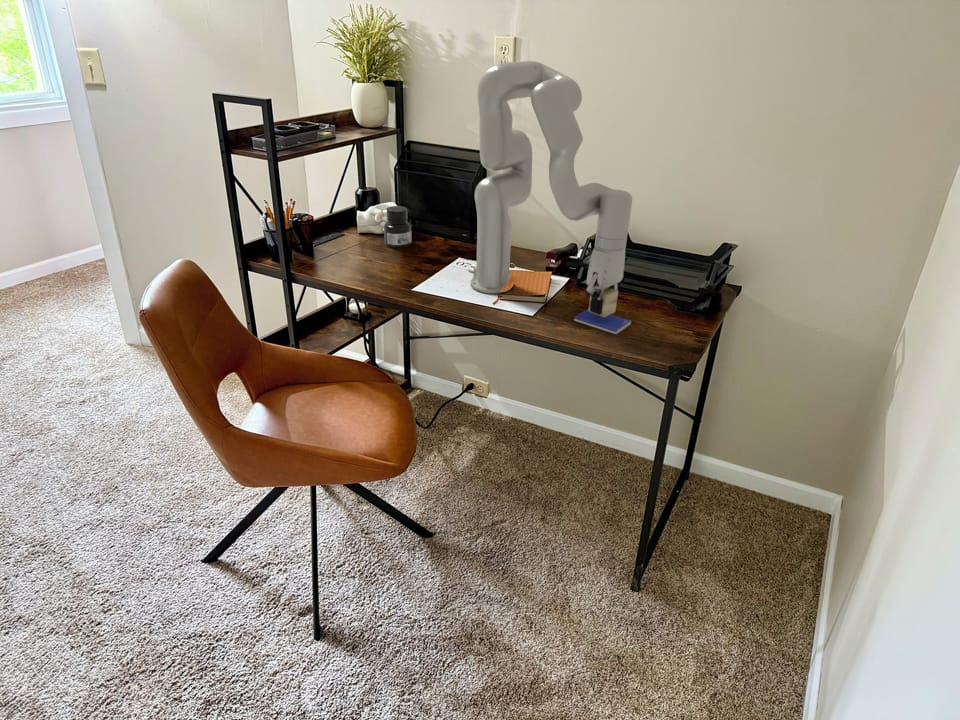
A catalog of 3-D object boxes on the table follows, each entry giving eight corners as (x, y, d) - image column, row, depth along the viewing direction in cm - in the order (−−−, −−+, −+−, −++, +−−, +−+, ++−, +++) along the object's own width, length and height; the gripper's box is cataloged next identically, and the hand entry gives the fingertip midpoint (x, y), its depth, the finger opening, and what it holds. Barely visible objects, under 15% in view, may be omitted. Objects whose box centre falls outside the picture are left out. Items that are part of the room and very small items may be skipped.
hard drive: (631, 320, 174) (589, 307, 180) (616, 330, 168) (574, 316, 175) (630, 325, 175) (589, 312, 181) (616, 336, 169) (573, 322, 176)
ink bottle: (388, 250, 218) (386, 214, 213) (380, 241, 225) (378, 206, 220) (416, 246, 222) (415, 211, 216) (407, 238, 229) (406, 203, 223)
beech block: (588, 311, 173) (590, 289, 170) (599, 305, 176) (602, 284, 173) (604, 317, 170) (607, 295, 167) (615, 311, 173) (618, 290, 170)
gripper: (617, 231, 172) (608, 296, 181) (577, 245, 161) (570, 314, 170) (642, 238, 167) (632, 304, 176) (603, 253, 156) (594, 323, 165)
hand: (602, 308), depth 173 cm, fingers closed on beech block, 4 cm apart
